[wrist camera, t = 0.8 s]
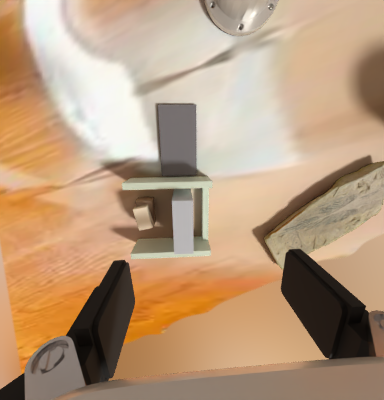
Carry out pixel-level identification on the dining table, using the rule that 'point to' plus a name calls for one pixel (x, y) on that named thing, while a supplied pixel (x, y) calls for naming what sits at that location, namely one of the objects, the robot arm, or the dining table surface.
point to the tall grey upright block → (182, 221)
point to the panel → (177, 139)
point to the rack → (166, 245)
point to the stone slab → (330, 213)
